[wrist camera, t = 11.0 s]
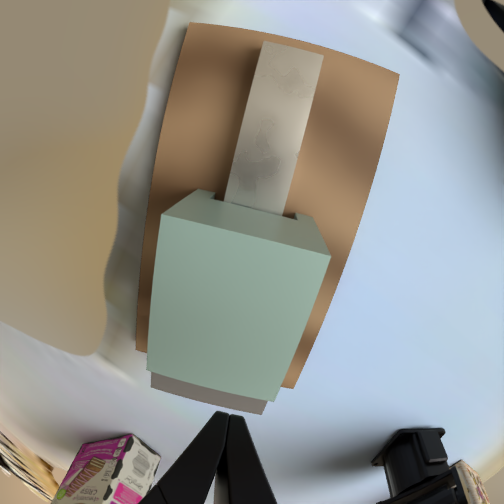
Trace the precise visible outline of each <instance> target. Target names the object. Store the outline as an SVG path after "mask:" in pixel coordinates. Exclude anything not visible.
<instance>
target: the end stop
mask: <svg viewBox="0 0 504 504" xmlns="http://www.w3.org/2000/svg"><path fill="white" fill-rule="evenodd" d="M151 387H152V388H155V389H158V390H161V391H165V392H168V393H171V394H175V395H178V396H182V397H185V398H189V399H193V400H196V401H200V402H204V403H208V404H212V405H217V406H221V407H225V408H230V409H234V410H239V411H244V412H249V413H254V414H259V415H262V413H263V411H264V408H265V406H266V404H267V401H266V400H261V399H256V398H251V397H246V396H241V395H237V394H232V393H228V392H223V391H219V390H215V389H211V388H207V387H203V386H199V385H195V384H192V383H188V382H184V381H181V380H177V379H174V378H170V377H167V376H164V375H160V374H157V373H154V372H151Z"/></svg>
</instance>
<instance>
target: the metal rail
mask: <svg viewBox="0 0 504 504" xmlns="http://www.w3.org/2000/svg"><path fill="white" fill-rule="evenodd" d="M323 57H324V55H320V54H317V53H313V52H310V51H306V50H302V49H298V48H294V47H290V46H286V45H282V44H277V43H273V42H268V41H264V42H263V45H262V49H261V53H260V56H259V60H258V64H257V67H256V71H255V75H254V79H253V82H252V86H251V90H250V94H249V98H248V102H247V106H246V110H245V114H244V118H243V122H242V126H241V130H240V134H239V138H238V142H237V146H236V150H235V155H234V159H233V163H232V167H231V172H230V176H229V180H228V185H227V189H226V193H225V198H224V202H227V203H231V204H235V205H239V206H243V207H247V208H251V209H255V210H259V211H263V212H267V213H271V214H275V215H279V216H282V214H283V211H284V207H285V203H286V200H287V196H288V192H289V189H290V185H291V181H292V177H293V174H294V170H295V166H296V163H297V159H298V155H299V151H300V147H301V144H302V140H303V136H304V132H305V128H306V125H307V121H308V117H309V113H310V109H311V105H312V101H313V97H314V93H315V89H316V85H317V81H318V77H319V74H320V69H321V65H322V61H323Z"/></svg>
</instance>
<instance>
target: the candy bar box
mask: <svg viewBox="0 0 504 504" xmlns="http://www.w3.org/2000/svg"><path fill="white" fill-rule="evenodd" d="M160 460H161V456H159V455H158V454H157V453H156V452H154V451H153V450H152V449H151V448H149V447H148V446H147V445H146V444H145V443H143V442H142V441H141V440H140V439H138V438H137V437H136V436H135V435H133V434H130V435H126V436H122V437H118V438H113V439H108V440H103V441H98V442H92V443H86V444H82V446H81V448H80V450H79V452H78V453H77V455H76V457H75V459H74V461H73V462H72V464H71V466H70V468H69V470H68V472H67V474H66V476H65V478H64V479H63V481H62V483H61V485H60V487H59V489H58V491H57V493H56V495H55V497H54V498H53V500H52V502H51V504H137V503H138V502H139V501H140V500H141V499H142V498H143V497H144V496H145V495H146V494H147V493H148V492H149V491H150V488H151V485H152V482H153V480H154V476H155V474H156V471H157V468H158V465H159V462H160Z"/></svg>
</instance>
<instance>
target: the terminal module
mask: <svg viewBox="0 0 504 504" xmlns="http://www.w3.org/2000/svg"><path fill="white" fill-rule="evenodd" d="M214 198H215V192H210V191H206V190H201V189H197V190H196V191H194V192H193V193H191V194H190V195H188V196H187V197H185V198H184V199H182V200H181V201H179V202H178V203H177V204H175V205H174V206H172V207H171V208H169V209H168V210H167V211H165V212H164V213H162V214H161V221H160V228H159V235H158V242H157V250H156V258H155V266H154V275H153V285H152V295H151V306H150V318H149V332H148V348H147V369H146V370H148V371H151V372H154V373H157V374H160V375H164V376H167V377H170V378H174V379H177V380H181V381H184V382H188V383H192V384H195V385H199V386H203V387H207V388H211V389H215V390H219V391H223V392H228V393H232V394H237V395H241V396H246V397H251V398H256V399H261V400H266V401H272V402H274V401H275V398H276V396H277V394H278V392H279V389H280V387H281V385H282V382H283V380H284V378H285V375H286V373H287V371H288V368H289V366H290V364H291V361H292V359H293V356H294V354H295V351H296V349H297V347H298V344H299V342H300V339H301V337H302V334H303V332H304V329H305V326H306V324H307V321H308V319H309V316H310V313H311V311H312V308H313V306H314V303H315V300H316V297H317V295H318V292H319V289H320V287H321V284H322V281H323V278H324V275H325V273H326V270H327V267H328V264H329V261H330V258H331V255H330V253H329V250H328V248H327V246H326V244H325V242H324V240H323V237H322V235H321V233H320V231H319V229H318V227H317V225H316V223H315V221H314V219H313V217H310V216H306V215H303V214H299V213H295V216H294V219H291V218H287V217H283V216H279V215H275V214H271V213H267V212H263V211H259V210H255V209H251V208H247V207H243V206H239V205H235V204H231V203H227V202H223V201H218V200H214Z"/></svg>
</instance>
